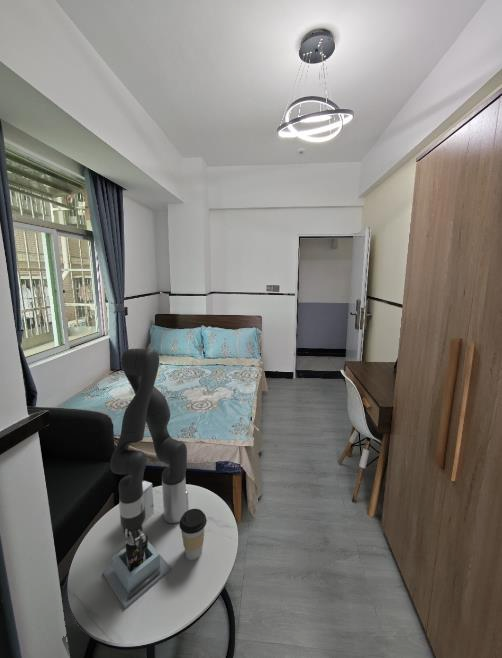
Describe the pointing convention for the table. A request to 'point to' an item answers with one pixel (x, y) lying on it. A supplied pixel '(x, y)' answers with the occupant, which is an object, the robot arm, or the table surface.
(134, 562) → the beverage can
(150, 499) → the skincare box
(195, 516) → the coffee cup
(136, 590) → the hollow square can holder
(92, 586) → the table surface
